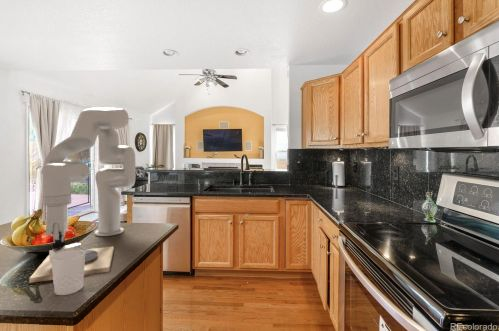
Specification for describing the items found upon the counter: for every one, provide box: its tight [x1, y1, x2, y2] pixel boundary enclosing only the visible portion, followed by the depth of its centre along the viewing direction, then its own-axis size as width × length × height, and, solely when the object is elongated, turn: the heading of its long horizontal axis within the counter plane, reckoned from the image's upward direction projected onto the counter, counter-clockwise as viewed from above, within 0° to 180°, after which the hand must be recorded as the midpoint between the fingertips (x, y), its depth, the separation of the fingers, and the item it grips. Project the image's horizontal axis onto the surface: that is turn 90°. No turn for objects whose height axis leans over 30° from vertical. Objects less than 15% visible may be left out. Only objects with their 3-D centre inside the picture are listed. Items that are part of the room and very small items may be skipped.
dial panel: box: [28, 246, 115, 284], centre depth 92 cm, size 21×21×4 cm
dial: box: [48, 242, 98, 264], centre depth 91 cm, size 14×12×5 cm
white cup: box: [51, 249, 85, 296], centre depth 75 cm, size 8×8×10 cm
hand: (59, 252), depth 90 cm, fingers closed
